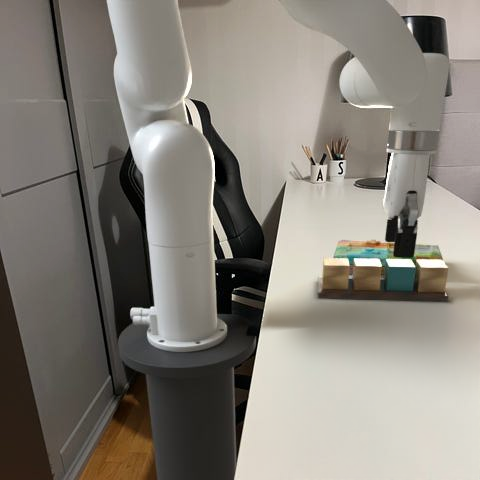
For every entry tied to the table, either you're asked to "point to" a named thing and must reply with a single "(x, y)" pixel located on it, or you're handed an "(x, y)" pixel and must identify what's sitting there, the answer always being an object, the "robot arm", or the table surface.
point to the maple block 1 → (335, 273)
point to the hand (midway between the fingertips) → (398, 249)
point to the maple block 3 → (430, 275)
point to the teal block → (399, 275)
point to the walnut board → (380, 294)
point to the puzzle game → (381, 252)
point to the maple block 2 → (366, 274)
